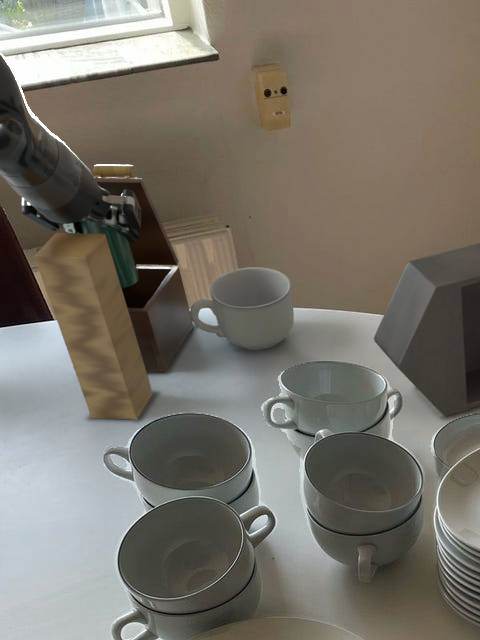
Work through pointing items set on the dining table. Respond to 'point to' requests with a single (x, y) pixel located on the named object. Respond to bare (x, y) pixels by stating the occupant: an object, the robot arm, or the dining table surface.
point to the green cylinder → (117, 252)
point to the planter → (438, 328)
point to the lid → (152, 235)
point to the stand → (95, 324)
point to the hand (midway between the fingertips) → (111, 235)
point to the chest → (158, 314)
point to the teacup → (249, 307)
